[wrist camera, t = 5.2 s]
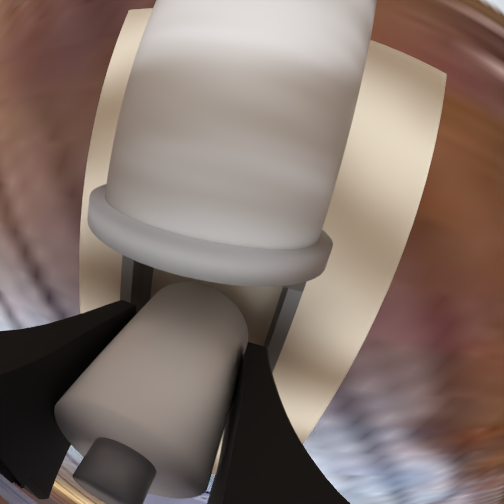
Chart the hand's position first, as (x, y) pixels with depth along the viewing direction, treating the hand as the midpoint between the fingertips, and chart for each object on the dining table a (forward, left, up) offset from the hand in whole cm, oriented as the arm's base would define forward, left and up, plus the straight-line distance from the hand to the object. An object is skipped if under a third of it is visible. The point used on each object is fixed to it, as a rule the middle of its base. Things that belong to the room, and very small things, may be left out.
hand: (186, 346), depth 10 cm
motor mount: (-1, -2, -4) cm, 4 cm away
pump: (0, 0, -1) cm, 1 cm away
